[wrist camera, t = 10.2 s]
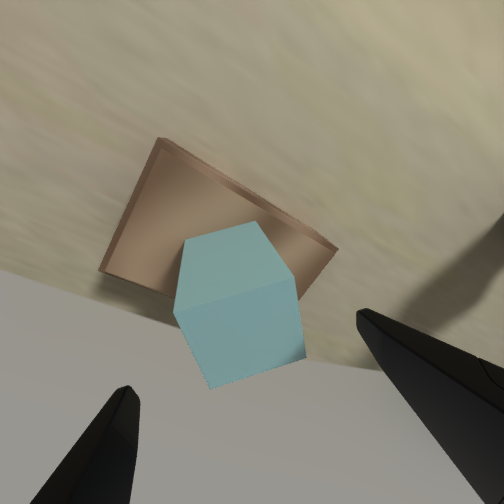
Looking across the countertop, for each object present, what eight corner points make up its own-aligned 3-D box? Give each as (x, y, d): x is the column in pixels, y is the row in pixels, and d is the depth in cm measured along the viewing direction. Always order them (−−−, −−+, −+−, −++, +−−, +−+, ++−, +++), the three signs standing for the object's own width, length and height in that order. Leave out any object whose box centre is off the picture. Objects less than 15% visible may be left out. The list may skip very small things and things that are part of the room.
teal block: (255, 220, 15) (294, 276, 9) (267, 279, 17) (306, 357, 11) (185, 239, 14) (173, 312, 8) (206, 297, 17) (210, 389, 10)
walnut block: (317, 232, 21) (341, 251, 17) (263, 307, 23) (274, 336, 20) (166, 138, 15) (156, 137, 12) (116, 247, 18) (95, 274, 14)
